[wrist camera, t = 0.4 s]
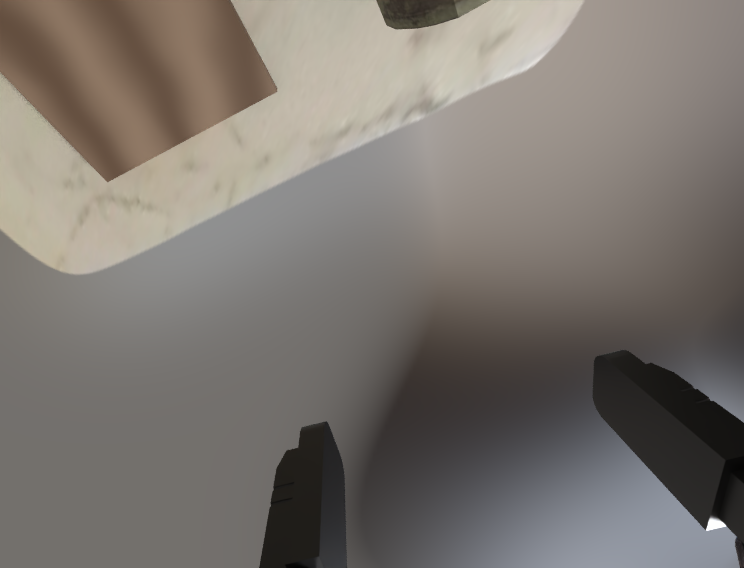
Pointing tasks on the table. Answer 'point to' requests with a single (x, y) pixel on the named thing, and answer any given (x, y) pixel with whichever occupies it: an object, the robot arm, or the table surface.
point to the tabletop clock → (424, 11)
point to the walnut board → (130, 72)
